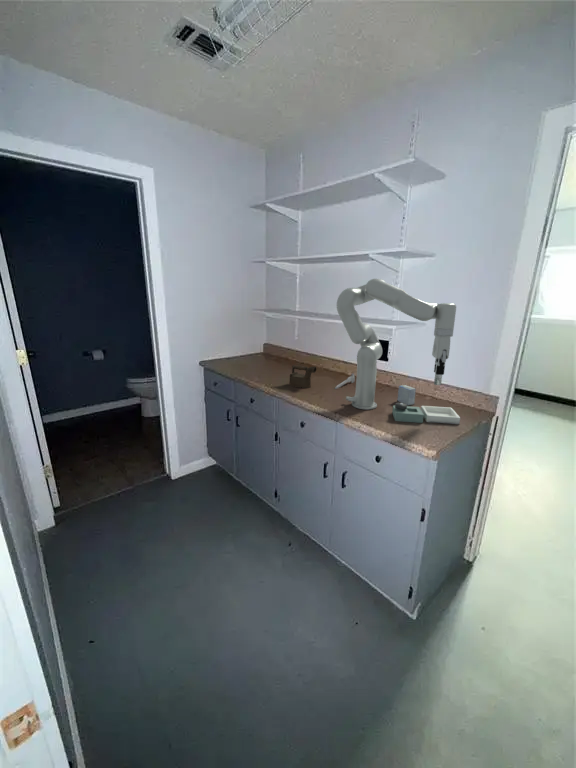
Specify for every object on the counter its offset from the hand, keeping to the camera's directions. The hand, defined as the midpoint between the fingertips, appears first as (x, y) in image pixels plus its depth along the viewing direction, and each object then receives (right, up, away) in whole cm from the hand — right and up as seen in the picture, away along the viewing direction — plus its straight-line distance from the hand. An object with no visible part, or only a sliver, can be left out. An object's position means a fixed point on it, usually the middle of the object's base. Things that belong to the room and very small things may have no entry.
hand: (438, 373), depth 149 cm
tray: (+3, -21, +7) cm, 22 cm away
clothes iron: (-60, -6, +54) cm, 80 cm away
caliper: (-33, -6, +56) cm, 65 cm away
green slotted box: (-12, -21, +6) cm, 25 cm away
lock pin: (0, -5, +1) cm, 5 cm away
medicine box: (-6, -15, +27) cm, 31 cm away
